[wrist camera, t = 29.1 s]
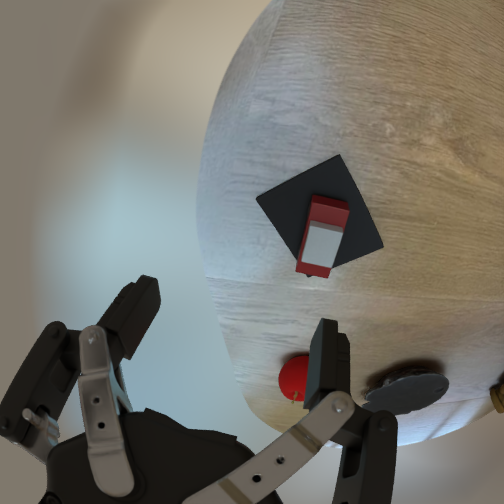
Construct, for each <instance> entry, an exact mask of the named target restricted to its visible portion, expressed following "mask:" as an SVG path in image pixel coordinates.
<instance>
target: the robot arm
mask: <svg viewBox="0 0 504 504" xmlns="http://www.w3.org/2000/svg"><path fill="white" fill-rule="evenodd" d="M160 304H161V298H160V291H159V285H158V280H157V279H156V278H153V277H150V276H146V275H141V276H140V278H139V279H138V280H137V282H136V283H133V282H131V283H129V284H128V285H126V286H125V287H123V289H122V290H121V291H120V293H119V294H118V296H117V297H116V298H115V299H114V301H113V303H111V305H110V306H109V308H108V309H107V310H106V312H105V313H104V314H103V316H102V317H101V319H100V320H99V322H98V323H97V324H96V325H91V326H88V327H86V328H85V329H83V330H82V331H79V330H69V329H67V328H66V326H65V325H64V323H62V322H60V321H54V322H51V323H50V324H48V325H47V326H46V327H45V329H44V330H43V332H42V333H41V335H40V337H39V338H38V339H37V341H36V343H35V344H34V346H33V347H32V349H31V350H30V352H29V354H28V356H27V357H26V359H25V360H24V362H23V363H22V365H21V367H20V369H19V370H18V372H17V374H16V376H15V377H14V379H13V381H12V383H11V385H10V386H9V388H8V390H7V392H6V394H5V396H4V398H3V400H2V402H1V404H0V435H1V436H3V437H5V438H6V439H8V440H9V441H10V442H11V443H14V444H15V445H17V446H19V447H20V448H22V449H24V450H26V451H27V452H28V453H30V454H31V455H32V456H34V457H35V458H36V459H38V460H39V461H41V462H42V463H43V464H45V465H46V469H47V490H46V493H45V495H44V497H43V498H42V499H41V501H40V502H39V503H38V504H283V502H282V501H281V499H280V497H279V496H278V494H277V492H276V490H275V489H276V488H277V487H279V486H280V485H281V484H282V483H284V482H285V481H286V480H287V479H289V478H290V477H291V476H292V475H293V474H295V473H296V472H297V471H298V470H299V469H300V468H301V467H303V466H304V465H305V464H306V463H307V462H308V461H309V460H310V459H311V458H312V457H314V456H315V455H316V454H317V452H319V450H320V449H321V447H322V446H323V445H324V444H325V443H326V442H327V441H328V440H330V441H333V442H335V443H337V444H340V445H342V446H343V448H342V455H341V461H340V467H339V473H338V477H337V483H336V487H335V492H334V497H333V501H332V504H391V499H392V491H393V484H394V476H395V466H396V453H397V434H398V422H397V419H396V417H395V416H394V414H393V413H391V412H390V411H387V410H380V411H377V412H375V413H374V412H371V411H369V410H367V409H364V408H362V407H360V406H358V405H357V404H356V403H355V402H354V400H353V399H352V397H351V393H350V343H349V340H348V338H347V336H346V334H344V333H338V322H337V321H336V320H330V319H325V318H321V320H320V322H319V324H318V327H317V329H316V331H315V333H314V335H313V338H312V341H311V345H310V353H309V363H308V372H307V381H306V390H305V398H304V406H303V409H309V413H308V414H307V415H306V416H305V417H303V418H302V419H301V420H300V421H299V422H298V423H297V424H295V425H294V426H292V427H291V428H289V429H288V430H287V431H286V432H285V433H283V434H282V435H281V436H280V437H278V438H277V439H276V440H275V441H273V442H272V443H271V444H270V445H268V446H267V447H266V448H264V450H262V451H261V452H259V453H258V454H256V455H255V454H254V453H253V452H252V451H251V450H250V449H249V448H248V447H247V446H245V445H244V444H242V443H240V442H238V441H236V439H237V436H234V435H229V434H225V433H222V432H218V431H214V430H197V429H188V428H186V427H184V426H182V425H181V424H179V423H178V422H176V421H174V420H173V419H171V418H170V417H168V416H167V415H164V414H161V413H159V412H156V411H154V410H151V409H148V408H145V410H144V412H133V408H132V406H131V403H130V401H129V399H128V395H127V391H126V387H125V382H124V378H123V374H122V368H121V364H120V362H121V360H122V358H126V359H128V360H131V358H132V356H133V354H134V353H135V351H136V349H137V347H138V345H139V344H140V342H141V340H142V338H143V337H144V334H145V333H146V331H147V330H148V328H149V326H150V324H151V323H152V321H153V319H154V318H155V316H156V314H157V312H158V311H159V308H160ZM80 373H81V375H80ZM77 379H78V388H79V396H80V403H81V410H82V416H83V422H84V427H85V432H84V433H82V434H79V435H77V436H75V437H73V438H71V439H68V440H66V441H64V442H61V443H59V444H58V438H59V437H60V433H59V426H58V423H57V420H58V418H59V416H60V414H61V412H62V409H63V407H64V405H65V403H66V401H67V399H68V397H69V395H70V393H71V391H72V389H73V387H74V385H75V383H76V381H77Z"/></svg>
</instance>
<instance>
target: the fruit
mask: <svg viewBox="0 0 504 504" xmlns="http://www.w3.org/2000/svg"><path fill="white" fill-rule="evenodd" d="M308 363H309V356H299V357H295V358H292V359H290V360H289V361H288V362H287V363H286V364H285V365H284V366H283V367H282V369H281V371H280V373H279V379H278V380H279V387H280V389H281V392H282V393H283V395H284V396H285V397H286V398H288V399H290V400H293V401H292V404H293V403H294V401H304V398H305V390H306V381H307V372H308Z"/></svg>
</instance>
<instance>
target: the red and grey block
mask: <svg viewBox="0 0 504 504" xmlns="http://www.w3.org/2000/svg"><path fill="white" fill-rule="evenodd" d="M349 212H350V210H349V205H348V203H347V202H343V201H339V200H335V199H331V198H326V197H322V196H318V195H312V200H311V201H310V203H309V207H308V212H307V222H306V226H305V230H304V234H303V238H302V242H300V246H299V250H298V259H297V264H296V270H295V271H296V272H299V273H304V274H309V275H313V276H318V277H323V278H328V276H329V274H330V271H331V268H332V265H333V262H334V260H335V257H336V254H337V251H338V248H339V245H340V241H341V238H342V235H343V232H344V229H345V225H346V222H347V219H348V216H349Z"/></svg>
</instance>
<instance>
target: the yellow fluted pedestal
mask: <svg viewBox="0 0 504 504" xmlns="http://www.w3.org/2000/svg"><path fill="white" fill-rule="evenodd" d="M490 396H491V400H492V402H493V405H494V407H495V409H496V411H497V412H498V413H503V412H504V384H503V385H502V386H501V387H500V388H499V389H496V390H495V388H492V389H491V391H490Z"/></svg>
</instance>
